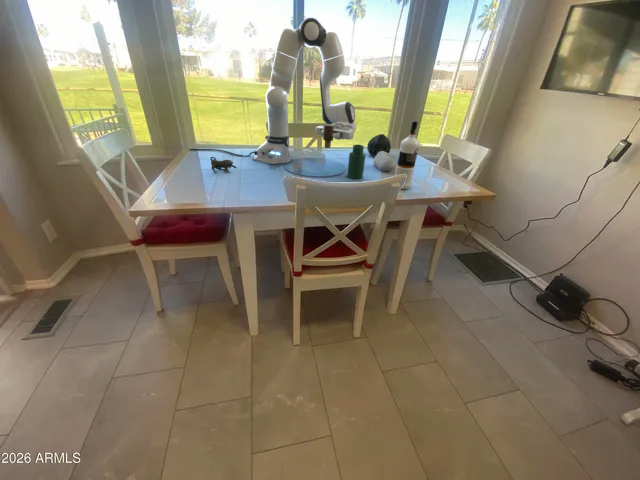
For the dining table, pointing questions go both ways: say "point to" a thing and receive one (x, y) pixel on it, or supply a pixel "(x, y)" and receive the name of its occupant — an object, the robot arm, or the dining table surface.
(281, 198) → the dining table surface
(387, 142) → the squash
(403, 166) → the vodka
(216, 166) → the dog figurine
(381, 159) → the decorative stone
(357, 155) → the bottle
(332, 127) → the stopper
